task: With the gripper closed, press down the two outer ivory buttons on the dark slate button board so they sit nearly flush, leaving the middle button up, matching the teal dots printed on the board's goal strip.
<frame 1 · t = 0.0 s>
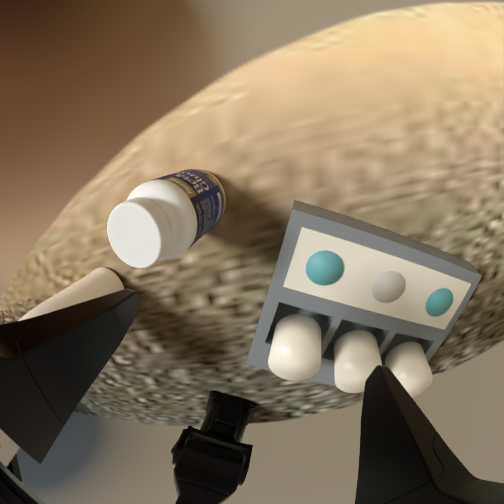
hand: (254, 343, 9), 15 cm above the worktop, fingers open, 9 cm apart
button a: (408, 370, 20), point 5 cm above the worktop, slide at 0.0 cm
white tall cylinder: (111, 284, 30), on the worktop
button b: (357, 361, 20), point 5 cm above the worktop, slide at 0.0 cm
button board: (360, 309, 24), on the worktop
button c: (296, 347, 21), point 5 cm above the worktop, slide at 0.0 cm
pill bottle: (198, 197, 23), on the worktop
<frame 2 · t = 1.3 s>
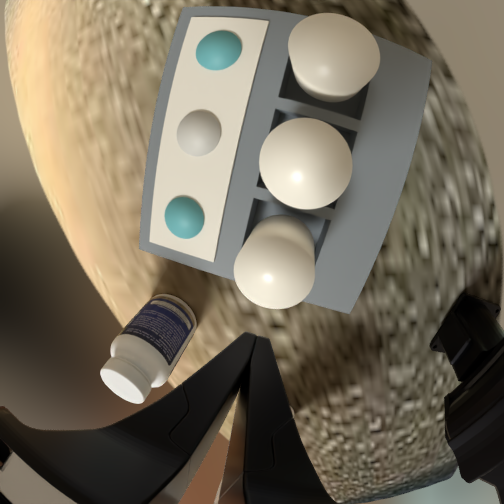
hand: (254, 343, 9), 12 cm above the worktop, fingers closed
button a: (331, 60, 10), point 5 cm above the worktop, slide at 0.0 cm
button b: (306, 160, 13), point 5 cm above the worktop, slide at 0.0 cm
button board: (278, 147, 17), on the worktop
button c: (278, 258, 15), point 5 cm above the worktop, slide at 0.0 cm
pill bottle: (173, 314, 25), on the worktop
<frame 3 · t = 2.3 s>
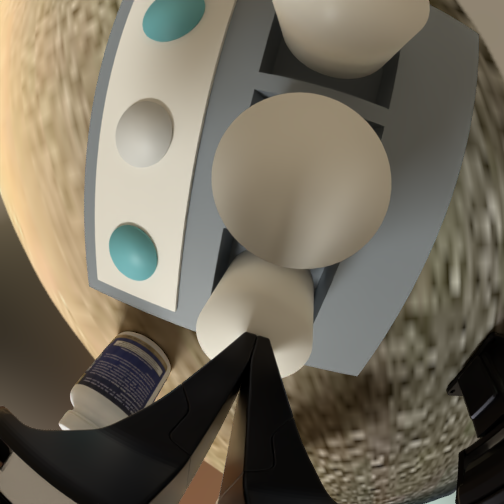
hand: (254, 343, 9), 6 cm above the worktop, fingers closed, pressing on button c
button a: (343, 9, 5), point 5 cm above the worktop, slide at 0.0 cm
button b: (303, 173, 7), point 5 cm above the worktop, slide at 0.0 cm
button board: (263, 150, 12), on the worktop
button c: (262, 310, 10), point 4 cm above the worktop, slide at 0.9 cm, touching gripper
pill bottle: (144, 352, 20), on the worktop
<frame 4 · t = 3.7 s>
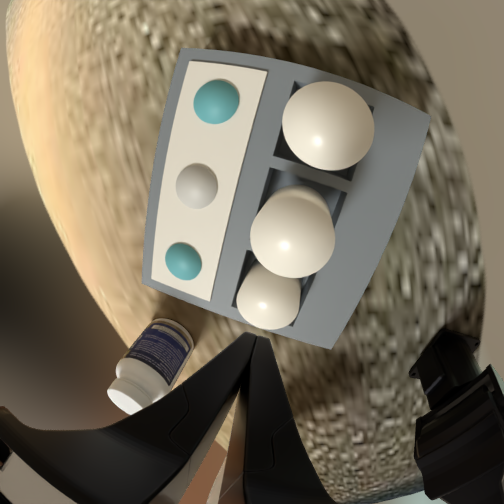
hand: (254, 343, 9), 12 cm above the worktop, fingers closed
button a: (326, 127, 12), point 5 cm above the worktop, slide at 0.0 cm
white tall cylinder: (262, 419, 30), on the worktop
button b: (294, 227, 14), point 5 cm above the worktop, slide at 0.0 cm
button board: (272, 196, 19), on the worktop
button c: (271, 289, 19), point 3 cm above the worktop, slide at 2.3 cm
pill bottle: (172, 335, 27), on the worktop
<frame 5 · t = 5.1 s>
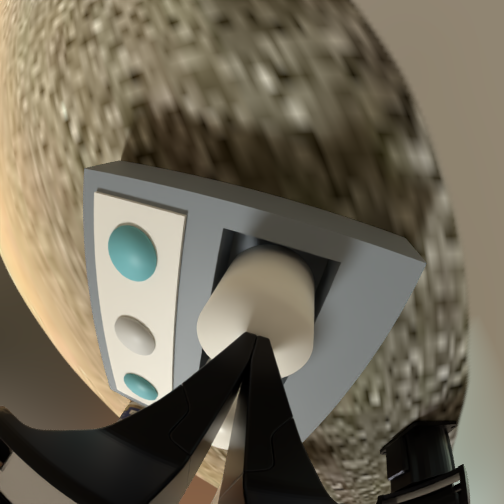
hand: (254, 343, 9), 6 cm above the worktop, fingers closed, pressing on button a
button a: (262, 310, 10), point 4 cm above the worktop, slide at 1.0 cm, touching gripper
button b: (232, 403, 12), point 5 cm above the worktop, slide at 0.0 cm
button board: (222, 329, 17), on the worktop
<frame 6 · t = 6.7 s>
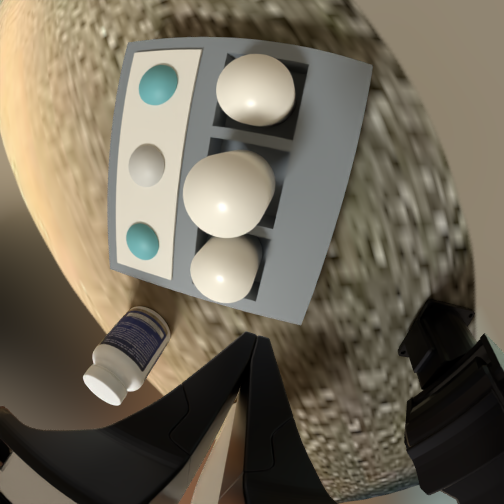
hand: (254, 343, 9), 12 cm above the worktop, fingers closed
button a: (260, 93, 14), point 3 cm above the worktop, slide at 2.2 cm
white tall cylinder: (250, 409, 30), on the worktop
button b: (233, 189, 14), point 5 cm above the worktop, slide at 0.0 cm
button board: (224, 170, 19), on the worktop
button c: (228, 262, 18), point 3 cm above the worktop, slide at 2.3 cm
pill bottle: (149, 324, 27), on the worktop
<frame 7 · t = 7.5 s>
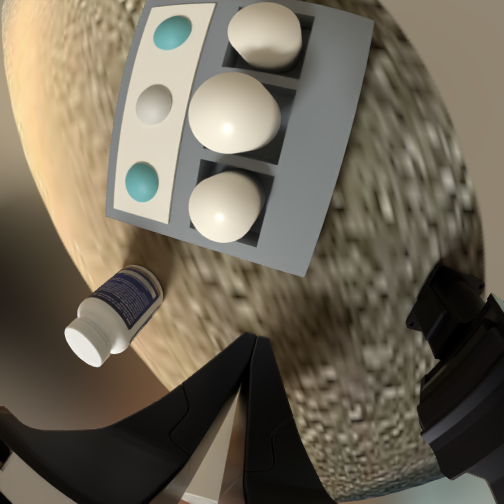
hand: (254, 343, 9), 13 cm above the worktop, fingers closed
button a: (268, 39, 12), point 3 cm above the worktop, slide at 2.2 cm
white tall cylinder: (245, 389, 29), on the worktop
button b: (238, 115, 13), point 5 cm above the worktop, slide at 0.0 cm
button board: (230, 116, 18), on the worktop
button c: (229, 202, 17), point 3 cm above the worktop, slide at 2.3 cm
pill bottle: (142, 286, 26), on the worktop
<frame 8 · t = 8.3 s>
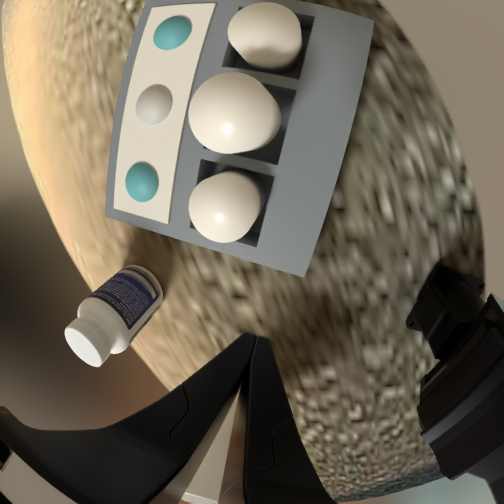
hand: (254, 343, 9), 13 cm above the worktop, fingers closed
button a: (268, 39, 12), point 3 cm above the worktop, slide at 2.2 cm
white tall cylinder: (245, 389, 29), on the worktop
button b: (239, 115, 13), point 5 cm above the worktop, slide at 0.0 cm
button board: (230, 116, 18), on the worktop
button c: (229, 202, 17), point 3 cm above the worktop, slide at 2.3 cm
pill bottle: (142, 286, 26), on the worktop
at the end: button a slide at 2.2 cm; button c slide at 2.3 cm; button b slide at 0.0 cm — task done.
